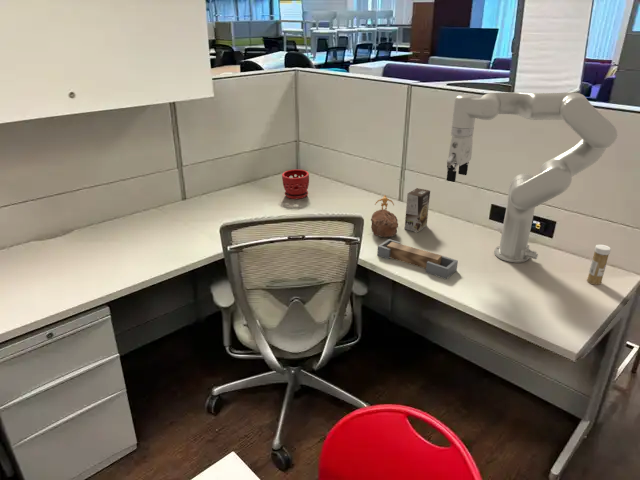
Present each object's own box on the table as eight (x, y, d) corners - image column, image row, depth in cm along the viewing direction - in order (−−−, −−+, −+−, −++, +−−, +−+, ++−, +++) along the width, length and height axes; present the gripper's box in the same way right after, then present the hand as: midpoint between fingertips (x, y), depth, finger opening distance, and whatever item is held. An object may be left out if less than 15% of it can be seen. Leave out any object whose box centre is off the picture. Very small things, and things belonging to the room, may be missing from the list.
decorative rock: (367, 228, 209) (368, 206, 205) (393, 226, 210) (395, 205, 206) (373, 241, 198) (374, 218, 193) (401, 240, 198) (402, 217, 194)
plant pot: (282, 192, 249) (281, 169, 244) (308, 191, 251) (307, 168, 245) (283, 201, 238) (282, 178, 232) (310, 200, 239) (310, 176, 234)
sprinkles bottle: (602, 286, 165) (612, 250, 160) (586, 283, 167) (596, 248, 161) (600, 280, 169) (610, 245, 163) (585, 277, 171) (595, 242, 165)
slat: (440, 267, 178) (441, 255, 176) (436, 272, 175) (437, 259, 173) (391, 253, 189) (392, 241, 186) (386, 257, 186) (387, 245, 183)
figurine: (392, 217, 219) (394, 192, 214) (393, 223, 214) (395, 197, 209) (373, 217, 220) (375, 191, 215) (374, 222, 214) (375, 196, 209)
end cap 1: (399, 251, 189) (400, 242, 187) (388, 259, 184) (389, 249, 182) (388, 248, 192) (389, 238, 190) (377, 255, 186) (377, 246, 185)
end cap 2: (456, 270, 176) (457, 260, 174) (446, 279, 170) (447, 269, 168) (436, 263, 180) (437, 254, 179) (425, 272, 175) (426, 262, 173)
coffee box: (417, 232, 205) (421, 196, 198) (403, 229, 208) (406, 193, 201) (427, 225, 211) (431, 190, 204) (414, 222, 215) (417, 187, 208)
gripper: (461, 137, 165) (455, 186, 173) (482, 128, 177) (476, 174, 185) (441, 134, 170) (436, 181, 177) (462, 125, 182) (457, 170, 189)
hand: (456, 177), depth 181 cm, fingers open, 9 cm apart
